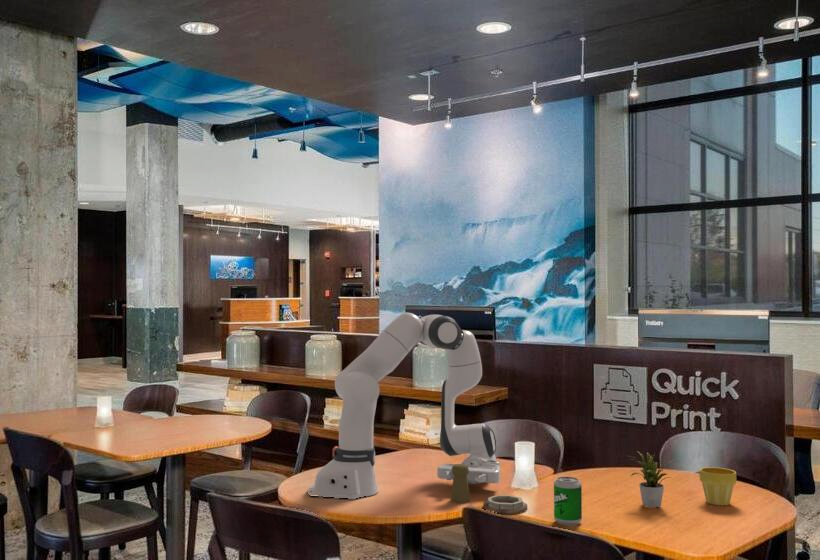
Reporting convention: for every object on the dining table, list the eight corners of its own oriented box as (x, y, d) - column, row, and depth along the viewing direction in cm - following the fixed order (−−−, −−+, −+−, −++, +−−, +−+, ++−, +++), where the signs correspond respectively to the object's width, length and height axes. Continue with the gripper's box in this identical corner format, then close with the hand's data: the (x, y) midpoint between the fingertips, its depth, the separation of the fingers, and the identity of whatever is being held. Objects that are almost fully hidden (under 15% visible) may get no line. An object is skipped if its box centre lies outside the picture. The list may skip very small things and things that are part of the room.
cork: (468, 503, 230) (468, 467, 230) (449, 502, 231) (449, 466, 231) (471, 498, 236) (471, 462, 236) (451, 497, 237) (451, 462, 237)
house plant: (613, 501, 233) (613, 447, 233) (651, 496, 238) (650, 444, 238) (643, 513, 219) (643, 456, 220) (682, 508, 224) (681, 453, 225)
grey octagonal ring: (484, 514, 219) (484, 505, 219) (481, 502, 232) (481, 493, 232) (529, 514, 218) (529, 505, 218) (524, 502, 231) (524, 494, 231)
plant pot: (718, 497, 237) (718, 465, 238) (744, 505, 228) (744, 472, 228) (692, 500, 234) (692, 468, 234) (717, 508, 224) (716, 475, 224)
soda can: (577, 518, 214) (577, 475, 215) (584, 526, 207) (584, 482, 207) (551, 518, 214) (551, 475, 214) (557, 526, 207) (557, 482, 207)
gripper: (444, 457, 253) (430, 465, 240) (504, 462, 246) (494, 471, 233) (443, 476, 253) (430, 486, 240) (504, 481, 246) (494, 491, 233)
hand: (462, 478), depth 237 cm, fingers open, 8 cm apart
